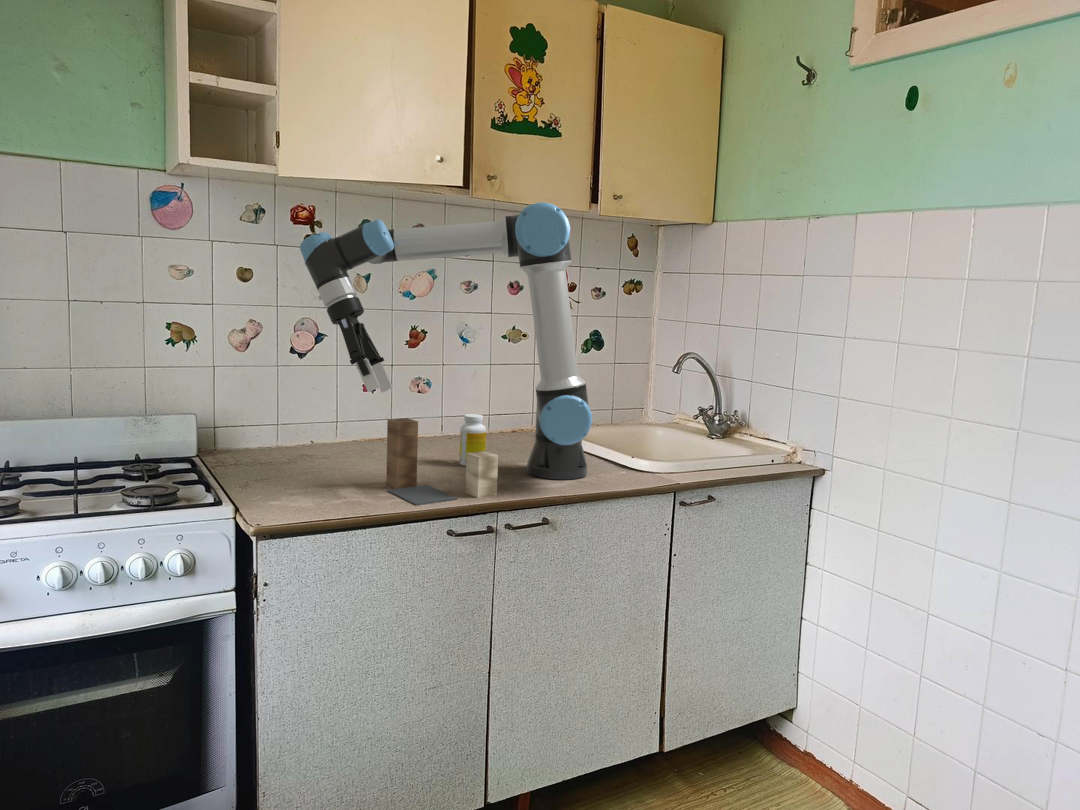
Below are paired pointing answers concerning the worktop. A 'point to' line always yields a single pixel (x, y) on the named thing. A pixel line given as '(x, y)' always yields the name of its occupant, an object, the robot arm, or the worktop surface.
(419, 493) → the mat
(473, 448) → the supplement bottle
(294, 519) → the worktop surface
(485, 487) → the birch block
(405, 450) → the walnut block
